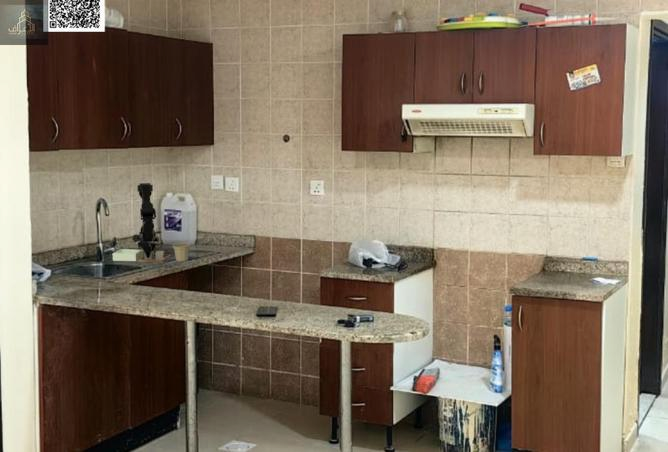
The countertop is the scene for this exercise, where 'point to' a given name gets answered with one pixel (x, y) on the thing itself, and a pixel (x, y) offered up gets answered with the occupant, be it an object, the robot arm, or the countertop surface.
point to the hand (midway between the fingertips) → (149, 257)
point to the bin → (127, 255)
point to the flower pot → (181, 251)
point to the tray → (154, 258)
